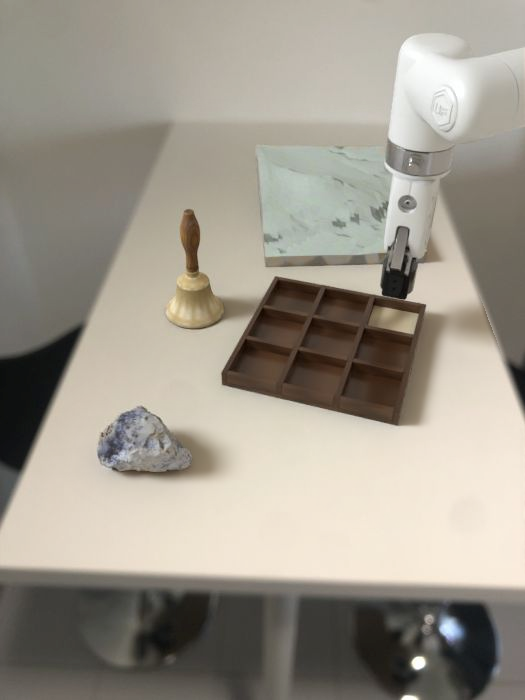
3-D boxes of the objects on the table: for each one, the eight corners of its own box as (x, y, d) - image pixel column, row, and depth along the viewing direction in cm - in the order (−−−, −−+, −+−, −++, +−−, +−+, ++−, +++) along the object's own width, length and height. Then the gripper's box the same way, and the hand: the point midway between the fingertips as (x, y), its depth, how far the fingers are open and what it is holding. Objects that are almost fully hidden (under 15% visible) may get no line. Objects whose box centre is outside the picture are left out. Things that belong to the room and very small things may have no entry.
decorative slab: (244, 159, 133) (244, 134, 130) (381, 156, 134) (384, 131, 131) (251, 267, 104) (251, 239, 101) (425, 262, 105) (430, 234, 102)
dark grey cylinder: (416, 280, 90) (420, 257, 88) (410, 298, 87) (415, 275, 84) (383, 274, 91) (386, 251, 89) (376, 292, 88) (380, 269, 85)
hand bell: (232, 299, 98) (229, 200, 88) (212, 334, 92) (205, 231, 82) (179, 289, 100) (169, 190, 89) (156, 322, 94) (143, 221, 83)
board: (424, 316, 95) (426, 304, 94) (397, 425, 79) (399, 413, 78) (274, 287, 100) (275, 275, 99) (221, 384, 84) (221, 372, 83)
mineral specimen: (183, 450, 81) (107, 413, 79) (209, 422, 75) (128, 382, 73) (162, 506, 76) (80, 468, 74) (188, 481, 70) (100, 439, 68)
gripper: (443, 192, 70) (416, 330, 82) (460, 129, 82) (434, 256, 94) (371, 181, 72) (355, 317, 84) (398, 121, 84) (381, 247, 96)
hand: (397, 284), depth 89 cm, fingers closed on dark grey cylinder, 4 cm apart
